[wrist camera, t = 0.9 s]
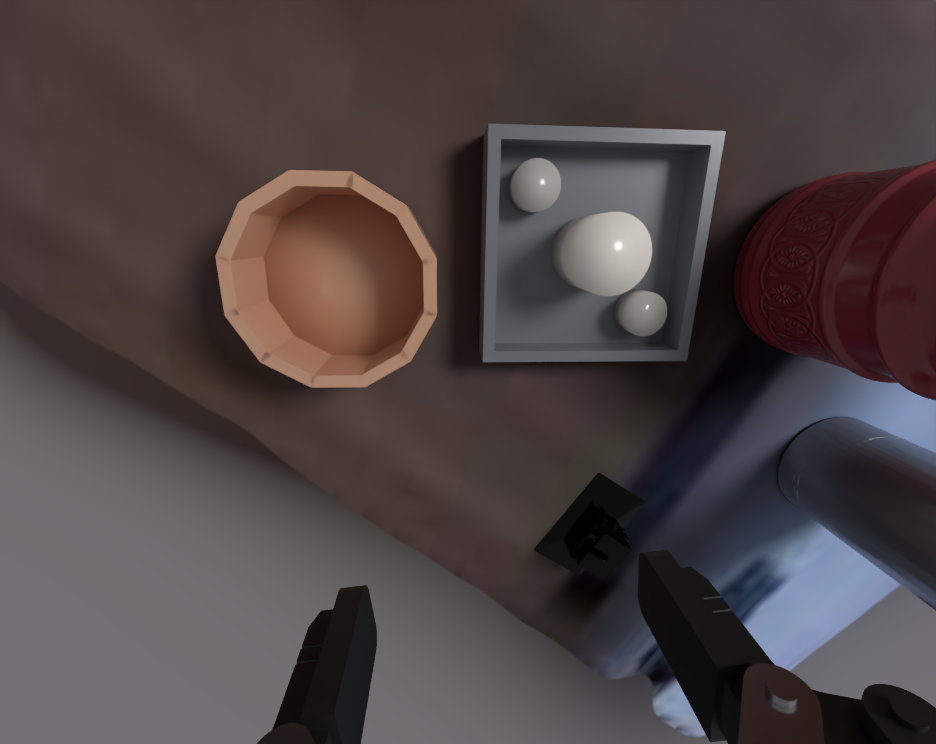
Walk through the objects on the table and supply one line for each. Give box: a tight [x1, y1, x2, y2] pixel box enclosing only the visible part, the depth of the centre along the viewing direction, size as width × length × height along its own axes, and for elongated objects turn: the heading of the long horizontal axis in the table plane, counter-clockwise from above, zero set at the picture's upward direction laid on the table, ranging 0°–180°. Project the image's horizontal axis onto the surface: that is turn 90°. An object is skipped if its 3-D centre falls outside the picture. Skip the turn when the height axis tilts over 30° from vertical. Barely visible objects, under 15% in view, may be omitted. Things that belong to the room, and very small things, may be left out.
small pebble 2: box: [614, 289, 667, 336], centre depth 32 cm, size 3×3×2 cm
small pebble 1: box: [508, 158, 561, 213], centre depth 29 cm, size 3×3×2 cm
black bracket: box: [534, 473, 645, 580], centre depth 37 cm, size 12×7×5 cm, turn 145°
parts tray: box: [479, 124, 726, 362], centre depth 30 cm, size 15×15×3 cm
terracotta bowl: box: [215, 170, 437, 388], centre depth 28 cm, size 13×13×6 cm
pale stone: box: [551, 212, 652, 296], centre depth 29 cm, size 5×5×5 cm
